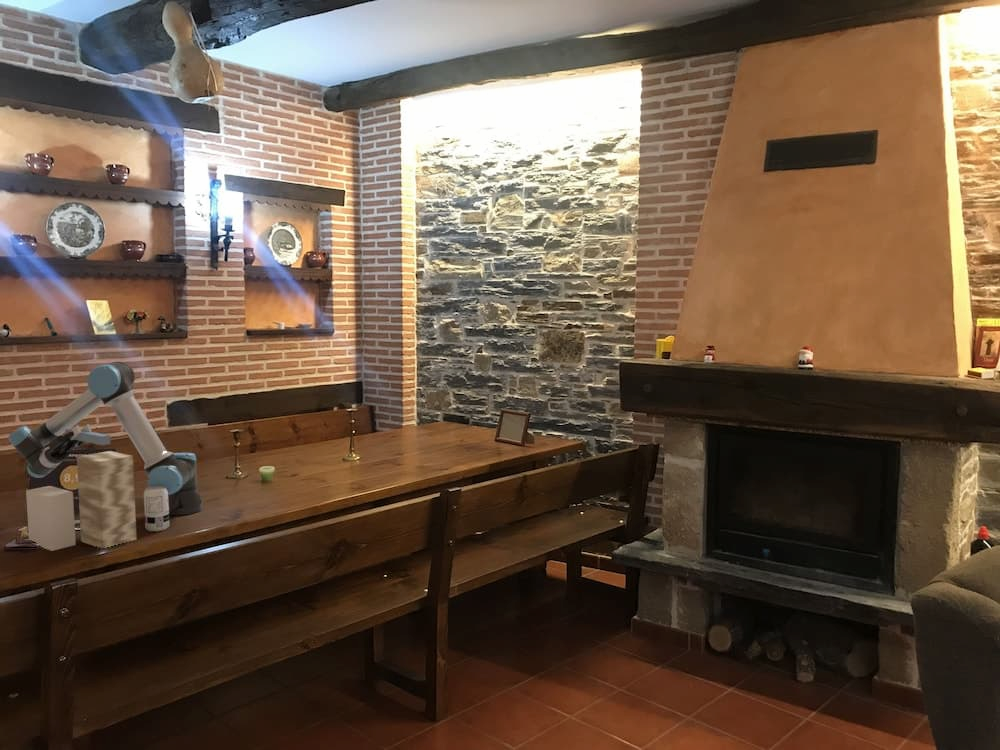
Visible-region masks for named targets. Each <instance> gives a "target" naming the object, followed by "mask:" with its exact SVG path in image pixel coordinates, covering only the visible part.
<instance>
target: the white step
mask: <svg viewBox="0 0 1000 750" xmlns="http://www.w3.org/2000/svg"><path fill="white" fill-rule="evenodd" d="M25 495H26V497H25V498H26V511H27V512H26V514H27V515H26V516H27V529H28V531H27V532H28V540H29V539H30V540H32V541H34V542H36V543H38V544H39V545H40V546H41V547H40V548H42V547H43V548H42V549H46V550H47V551H52V552H53V551H59V550H60V549H65V548H69V547H73V546H76V530H75V529H76V526H75V507H74V506H75V505H74V504H75V503H74V492H73V491H71V490H66V489H62V488H59V487H55V486H54V485H53V486H52V485H47V486H42V487H37V488H31V489H26V490H25Z"/></svg>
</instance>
